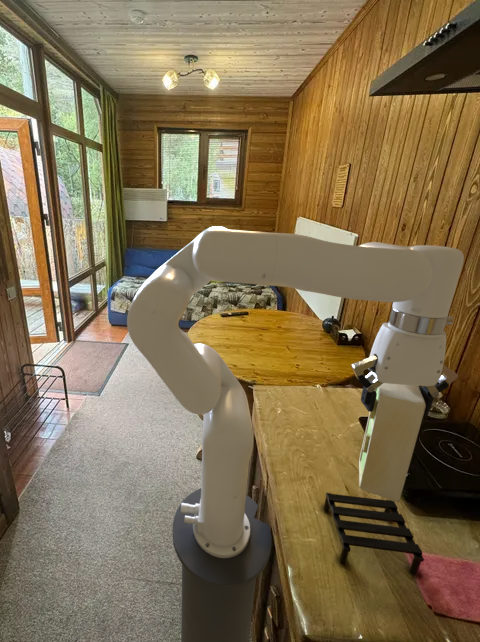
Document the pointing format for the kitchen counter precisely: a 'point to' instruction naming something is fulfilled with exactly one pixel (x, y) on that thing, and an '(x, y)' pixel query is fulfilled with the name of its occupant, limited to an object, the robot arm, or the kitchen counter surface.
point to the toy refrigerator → (390, 439)
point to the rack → (372, 527)
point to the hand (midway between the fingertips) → (393, 409)
